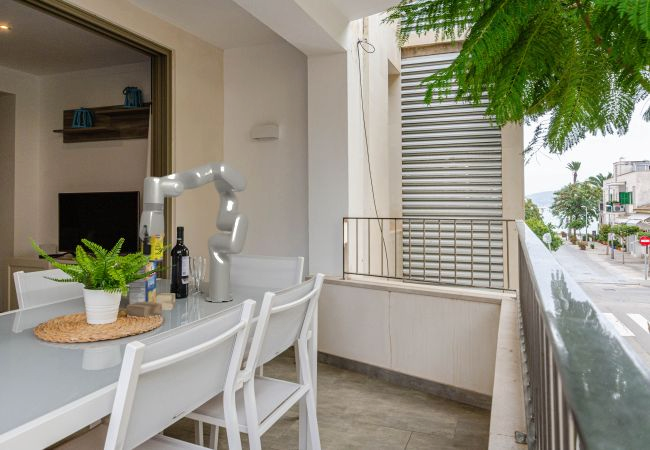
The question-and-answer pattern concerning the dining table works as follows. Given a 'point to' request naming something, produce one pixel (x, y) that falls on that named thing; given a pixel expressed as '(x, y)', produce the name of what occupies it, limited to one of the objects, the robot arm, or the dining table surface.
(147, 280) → the beverage box
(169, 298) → the oak cube
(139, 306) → the walnut block
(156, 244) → the supplement box
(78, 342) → the dining table surface
